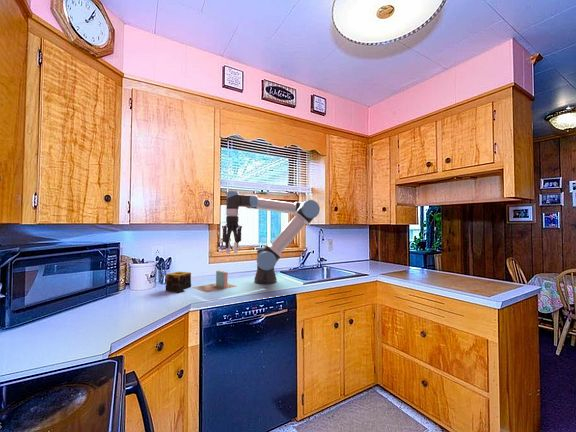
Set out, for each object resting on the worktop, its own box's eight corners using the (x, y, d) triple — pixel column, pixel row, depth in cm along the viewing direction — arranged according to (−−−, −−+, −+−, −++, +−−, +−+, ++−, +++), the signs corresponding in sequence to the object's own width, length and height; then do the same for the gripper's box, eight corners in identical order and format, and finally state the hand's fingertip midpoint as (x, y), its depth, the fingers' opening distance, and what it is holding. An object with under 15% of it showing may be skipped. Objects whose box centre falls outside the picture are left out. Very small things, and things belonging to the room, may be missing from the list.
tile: (218, 285, 163) (219, 270, 163) (227, 287, 157) (227, 272, 157) (215, 285, 161) (216, 270, 161) (224, 288, 155) (224, 272, 155)
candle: (178, 293, 147) (178, 275, 147) (164, 291, 151) (165, 274, 151) (191, 289, 157) (191, 272, 157) (178, 287, 160) (178, 271, 161)
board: (222, 283, 171) (222, 282, 171) (237, 288, 160) (237, 286, 160) (192, 289, 156) (192, 287, 156) (206, 294, 145) (206, 292, 145)
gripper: (240, 216, 174) (239, 251, 174) (216, 215, 161) (215, 253, 161) (247, 216, 169) (247, 252, 169) (223, 215, 156) (222, 254, 156)
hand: (231, 253), depth 165 cm, fingers open, 5 cm apart
